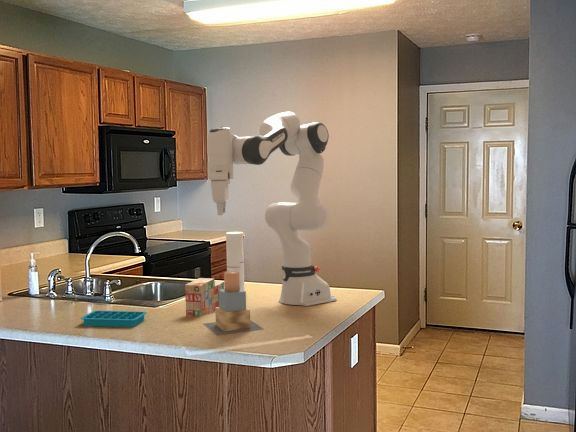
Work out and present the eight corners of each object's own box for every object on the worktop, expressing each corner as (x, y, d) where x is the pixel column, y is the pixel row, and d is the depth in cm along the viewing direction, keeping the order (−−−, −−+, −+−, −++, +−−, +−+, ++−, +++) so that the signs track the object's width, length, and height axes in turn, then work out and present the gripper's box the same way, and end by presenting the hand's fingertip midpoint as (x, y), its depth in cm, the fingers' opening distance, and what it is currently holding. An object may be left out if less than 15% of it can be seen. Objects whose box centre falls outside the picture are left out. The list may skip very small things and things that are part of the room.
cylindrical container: (247, 290, 271) (246, 232, 269) (235, 293, 266) (234, 234, 264) (236, 288, 276) (234, 231, 274) (224, 291, 271) (222, 233, 268)
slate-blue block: (239, 305, 214) (238, 287, 214) (246, 309, 208) (245, 291, 208) (219, 307, 212) (218, 289, 211) (225, 312, 205) (225, 293, 205)
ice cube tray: (135, 328, 215) (135, 319, 215) (79, 327, 218) (79, 318, 218) (148, 319, 226) (147, 311, 226) (95, 318, 230) (94, 310, 229)
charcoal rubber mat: (247, 320, 221) (247, 318, 221) (264, 332, 206) (264, 329, 206) (202, 326, 215) (202, 323, 214) (217, 338, 200) (217, 335, 200)
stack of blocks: (210, 304, 247) (209, 273, 246) (225, 305, 246) (224, 273, 244) (185, 318, 227) (184, 284, 226) (201, 319, 225) (200, 284, 224)
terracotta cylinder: (236, 288, 213) (236, 270, 212) (242, 291, 208) (241, 273, 208) (222, 289, 211) (222, 272, 210) (227, 292, 206) (226, 274, 206)
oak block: (241, 321, 216) (240, 304, 216) (250, 327, 208) (250, 309, 208) (215, 324, 213) (215, 307, 212) (224, 331, 205) (223, 313, 204)
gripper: (214, 173, 231) (215, 211, 232) (208, 175, 210) (209, 216, 211) (231, 173, 231) (232, 211, 232) (227, 174, 210) (228, 216, 212)
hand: (221, 213), depth 221 cm, fingers open, 8 cm apart
